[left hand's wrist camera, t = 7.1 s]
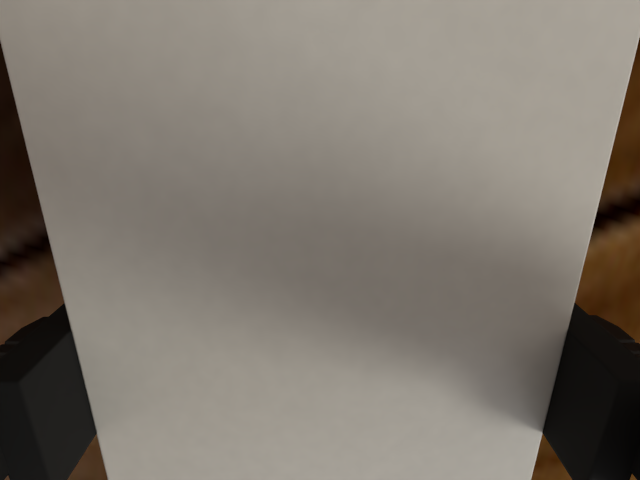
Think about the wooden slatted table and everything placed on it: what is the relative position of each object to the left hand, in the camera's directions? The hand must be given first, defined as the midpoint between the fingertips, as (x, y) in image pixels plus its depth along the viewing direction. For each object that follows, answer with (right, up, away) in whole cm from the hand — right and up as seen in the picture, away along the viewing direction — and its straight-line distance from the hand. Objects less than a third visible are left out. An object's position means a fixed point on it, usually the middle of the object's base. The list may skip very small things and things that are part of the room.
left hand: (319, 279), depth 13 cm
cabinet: (0, +6, +2) cm, 6 cm away
